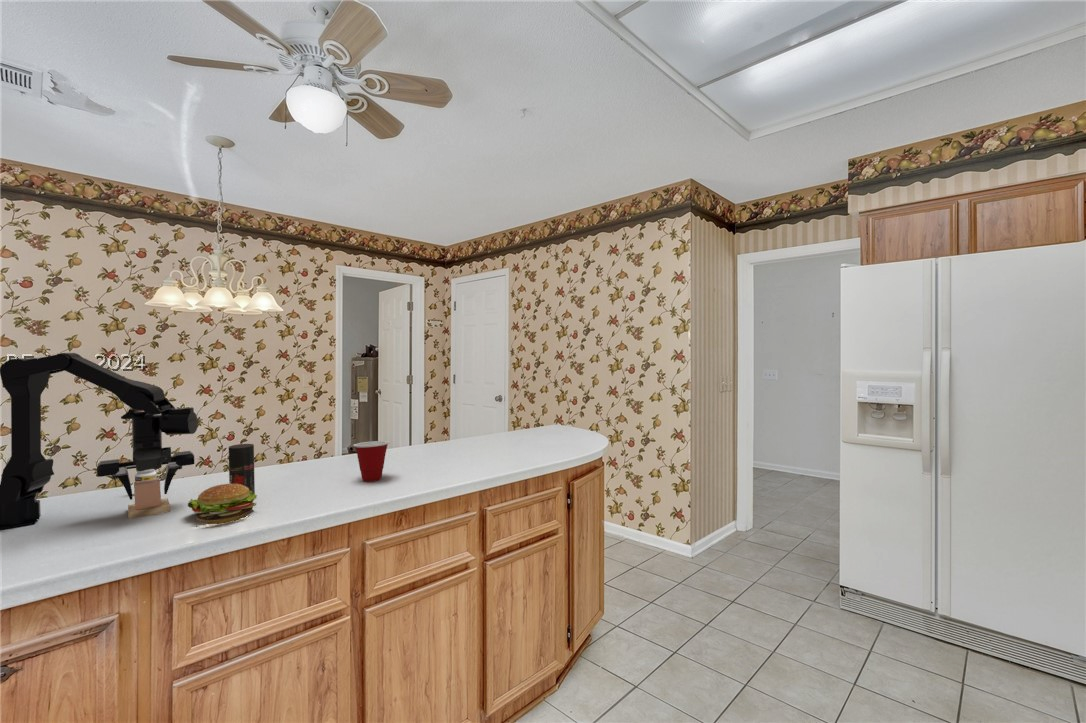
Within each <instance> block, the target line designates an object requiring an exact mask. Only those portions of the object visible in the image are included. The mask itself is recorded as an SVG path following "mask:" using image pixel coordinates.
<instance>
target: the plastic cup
mask: <svg viewBox="0 0 1086 723" xmlns="http://www.w3.org/2000/svg"><path fill="white" fill-rule="evenodd" d="M388 444H390V442H389V441H385V440H374V441H373V440H371V441H363V442H358V443H355V444H353V447H354V449H355V452H356V455H357V461H358V465H359V466H358V467H359V470H360V475H361V479H362V482H367V483H368V482H370V483H371V482H377V481H380V480H381V479H382V477H383V469H384V467H385V460H386V453H387V448H388Z"/></svg>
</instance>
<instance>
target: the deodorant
mask: <svg viewBox="0 0 1086 723" xmlns="http://www.w3.org/2000/svg"><path fill="white" fill-rule="evenodd" d="M228 473H229V474H228V480H229V481H228V482H229V483H228V484H241V485H244V486H246V487H247V488H248V489H249V491H252V492H253V493H254V494H255V495H256V491H255V490H256V489H255V486H256V484H255V481H256V480H255V445H254V444H253V443H239V444H233V445H229V446H228Z"/></svg>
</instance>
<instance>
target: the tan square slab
mask: <svg viewBox="0 0 1086 723" xmlns="http://www.w3.org/2000/svg"><path fill="white" fill-rule="evenodd" d="M127 510H128V511H127V512H128V515H127V516H128V520H130V519H137V518H140V517H141V518H142V517H147V516H151V515H158V514H163V513H167V512H168V513H169V512H171V504H170V501H169V498H168V497H167V498H166V497H165V498H161V505H160V506H155V507H149V508H144V509H138V510H135V503H132V504H131V503H130V504H128V505H127Z"/></svg>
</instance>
